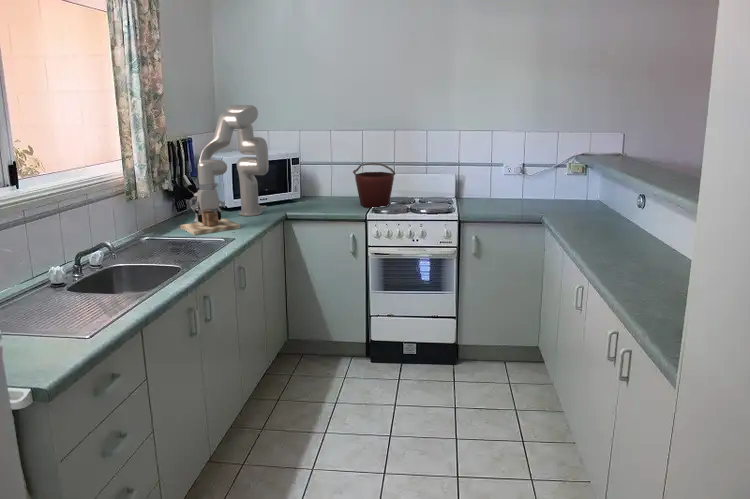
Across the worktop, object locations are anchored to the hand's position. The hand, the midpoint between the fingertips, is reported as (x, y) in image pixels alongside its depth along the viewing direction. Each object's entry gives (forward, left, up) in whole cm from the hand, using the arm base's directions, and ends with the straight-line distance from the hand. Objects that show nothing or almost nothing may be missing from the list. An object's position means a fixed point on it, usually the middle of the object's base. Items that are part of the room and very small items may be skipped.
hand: (209, 220), depth 312 cm
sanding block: (0, 0, -2) cm, 2 cm away
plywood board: (0, 0, -4) cm, 4 cm away
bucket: (-101, +4, -4) cm, 101 cm away
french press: (-5, -23, -4) cm, 24 cm away
